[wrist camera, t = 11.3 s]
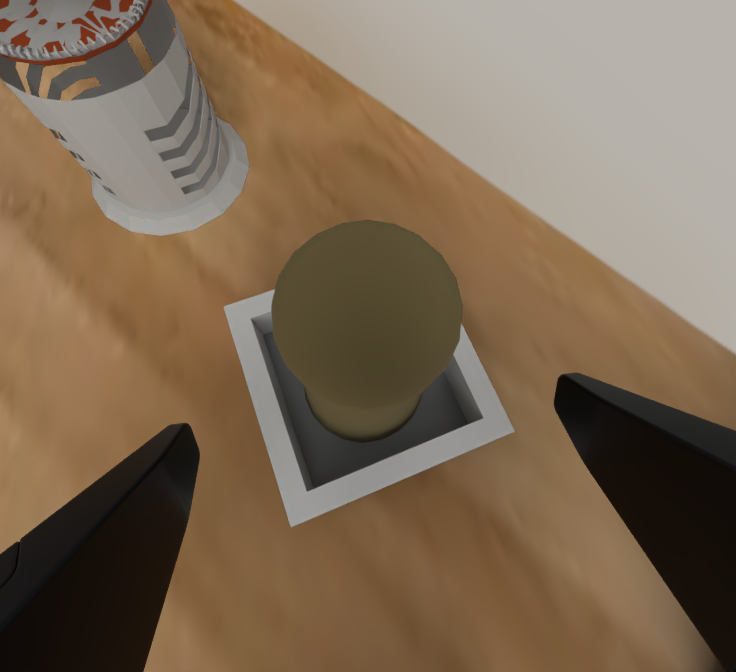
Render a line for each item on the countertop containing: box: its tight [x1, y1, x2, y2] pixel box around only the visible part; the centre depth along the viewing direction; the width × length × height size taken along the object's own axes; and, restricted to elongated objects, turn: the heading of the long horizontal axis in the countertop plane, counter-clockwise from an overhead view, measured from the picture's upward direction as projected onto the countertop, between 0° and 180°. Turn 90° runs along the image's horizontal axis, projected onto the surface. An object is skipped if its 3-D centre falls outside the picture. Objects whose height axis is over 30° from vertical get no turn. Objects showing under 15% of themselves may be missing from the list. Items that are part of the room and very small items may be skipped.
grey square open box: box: [224, 289, 515, 527], centre depth 19 cm, size 10×10×4 cm
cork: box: [271, 220, 462, 443], centre depth 14 cm, size 6×6×11 cm
